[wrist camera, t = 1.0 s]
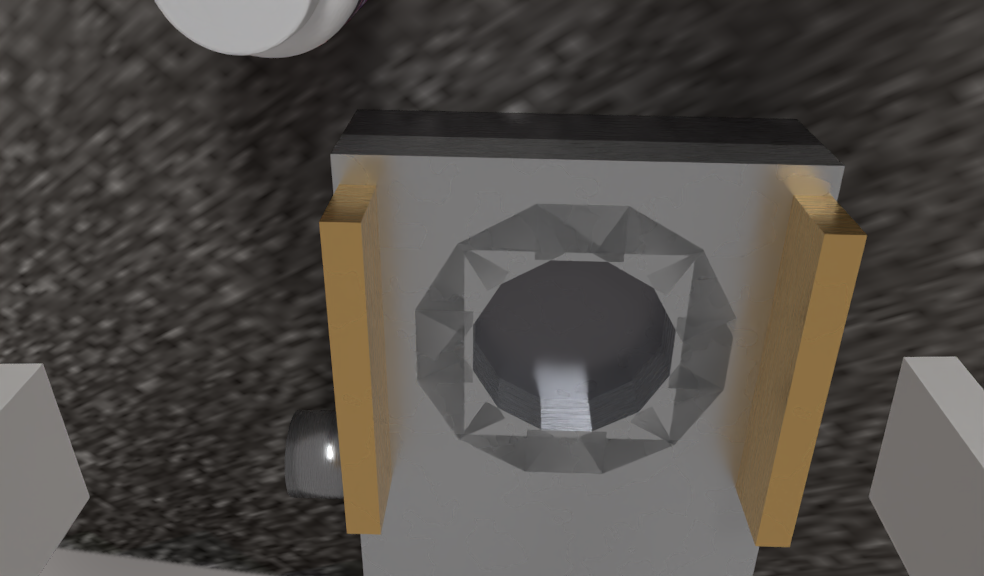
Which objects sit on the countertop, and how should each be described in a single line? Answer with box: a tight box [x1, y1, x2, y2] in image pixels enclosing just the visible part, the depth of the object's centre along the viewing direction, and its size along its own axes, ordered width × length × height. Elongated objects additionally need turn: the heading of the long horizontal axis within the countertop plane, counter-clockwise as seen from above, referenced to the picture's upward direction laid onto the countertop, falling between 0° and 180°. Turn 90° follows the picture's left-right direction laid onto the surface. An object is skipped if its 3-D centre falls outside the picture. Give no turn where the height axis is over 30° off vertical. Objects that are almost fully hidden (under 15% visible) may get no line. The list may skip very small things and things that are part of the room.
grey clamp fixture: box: [285, 110, 867, 576], centre depth 31 cm, size 20×19×8 cm
